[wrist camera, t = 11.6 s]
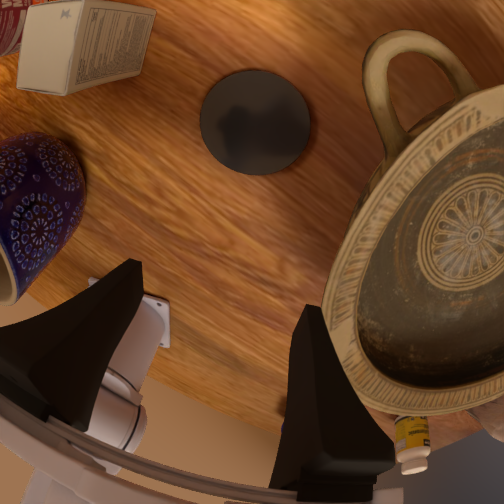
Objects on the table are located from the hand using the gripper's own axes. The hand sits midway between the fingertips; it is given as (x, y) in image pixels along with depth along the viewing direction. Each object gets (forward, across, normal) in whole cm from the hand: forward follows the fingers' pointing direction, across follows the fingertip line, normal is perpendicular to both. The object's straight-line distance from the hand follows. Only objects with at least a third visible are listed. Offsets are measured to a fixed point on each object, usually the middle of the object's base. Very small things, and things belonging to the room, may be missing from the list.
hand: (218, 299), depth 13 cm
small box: (+11, +11, -10) cm, 18 cm away
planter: (+11, +18, +2) cm, 21 cm away
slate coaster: (+10, +1, -5) cm, 12 cm away
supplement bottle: (+11, -31, +29) cm, 44 cm away
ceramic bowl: (+11, -16, -3) cm, 19 cm away
